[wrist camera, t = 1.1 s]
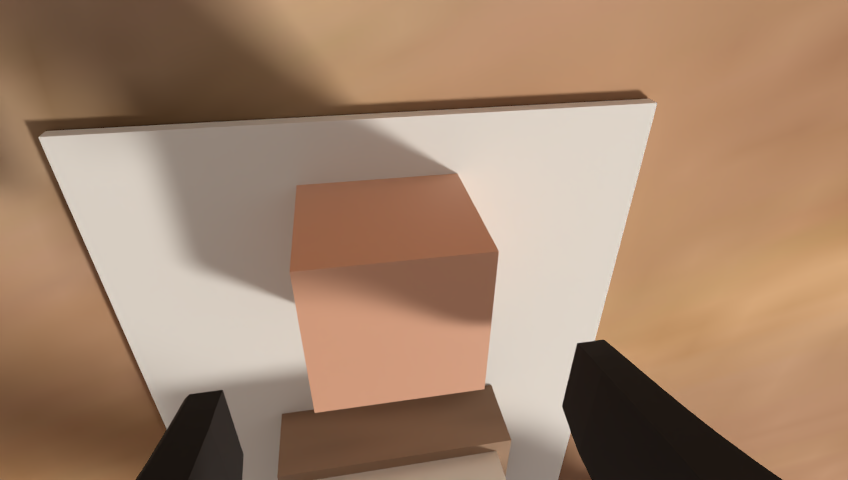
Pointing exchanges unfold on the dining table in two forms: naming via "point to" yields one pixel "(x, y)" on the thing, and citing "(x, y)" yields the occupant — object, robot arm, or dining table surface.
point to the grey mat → (272, 241)
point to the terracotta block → (391, 289)
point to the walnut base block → (391, 435)
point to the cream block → (438, 470)
